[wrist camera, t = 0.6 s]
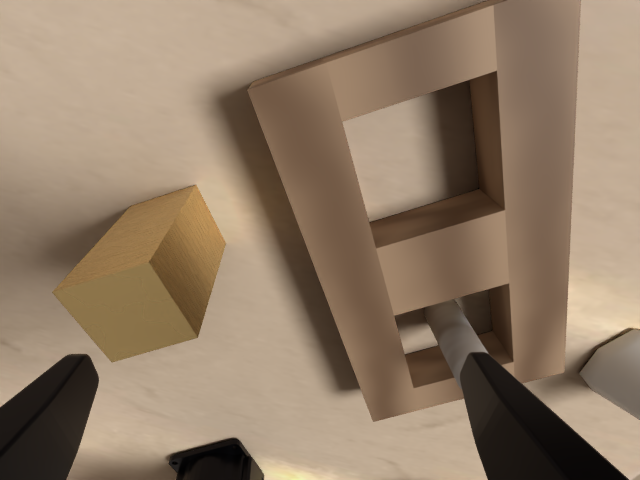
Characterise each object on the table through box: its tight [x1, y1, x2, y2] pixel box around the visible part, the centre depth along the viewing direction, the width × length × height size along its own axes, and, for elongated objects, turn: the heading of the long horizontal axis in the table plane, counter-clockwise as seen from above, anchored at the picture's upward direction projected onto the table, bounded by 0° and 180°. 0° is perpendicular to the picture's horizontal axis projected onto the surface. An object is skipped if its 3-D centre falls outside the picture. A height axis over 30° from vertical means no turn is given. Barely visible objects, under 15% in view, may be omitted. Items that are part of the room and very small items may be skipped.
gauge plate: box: [247, 0, 581, 422], centre depth 21 cm, size 14×24×6 cm, turn 17°
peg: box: [52, 185, 226, 362], centre depth 18 cm, size 4×4×8 cm
